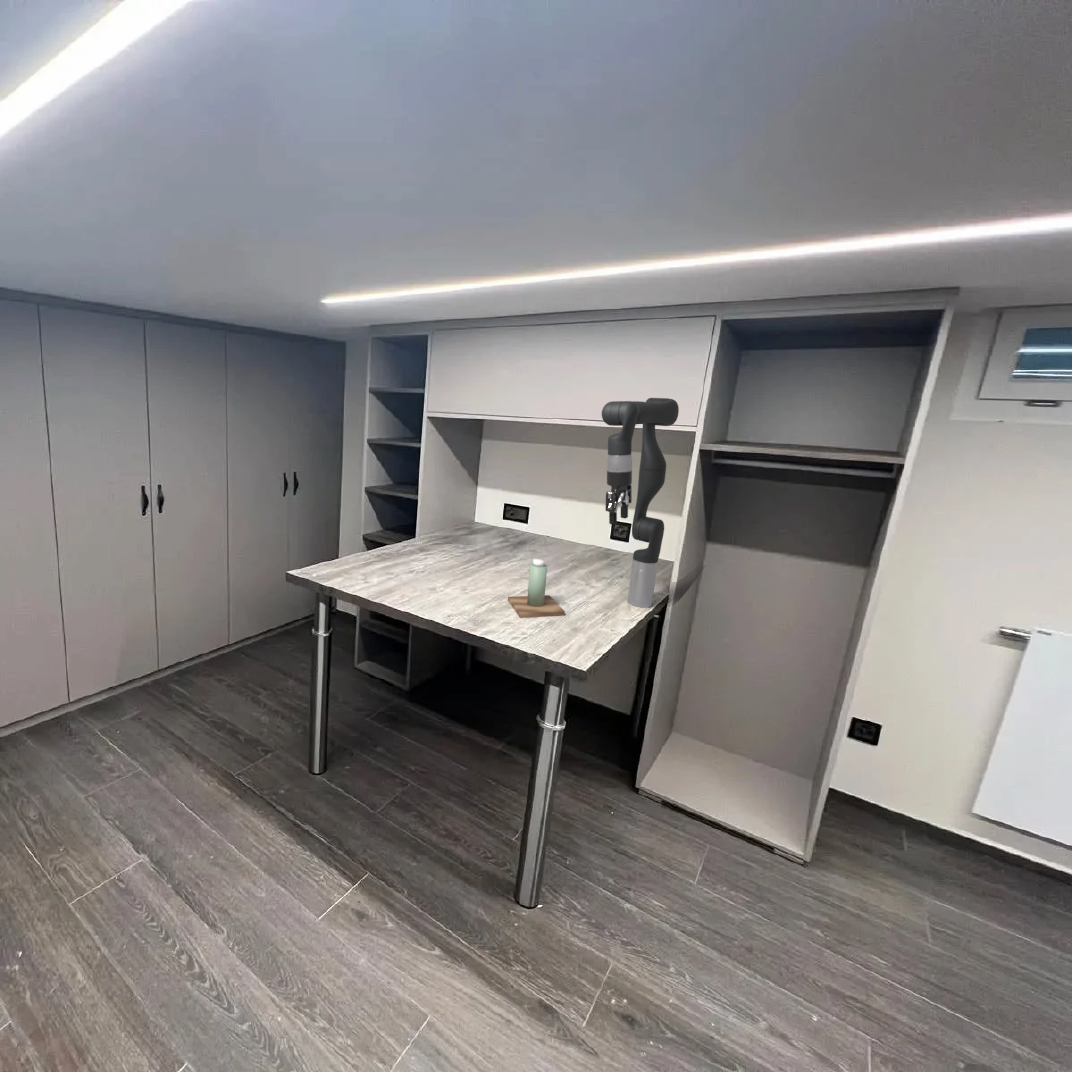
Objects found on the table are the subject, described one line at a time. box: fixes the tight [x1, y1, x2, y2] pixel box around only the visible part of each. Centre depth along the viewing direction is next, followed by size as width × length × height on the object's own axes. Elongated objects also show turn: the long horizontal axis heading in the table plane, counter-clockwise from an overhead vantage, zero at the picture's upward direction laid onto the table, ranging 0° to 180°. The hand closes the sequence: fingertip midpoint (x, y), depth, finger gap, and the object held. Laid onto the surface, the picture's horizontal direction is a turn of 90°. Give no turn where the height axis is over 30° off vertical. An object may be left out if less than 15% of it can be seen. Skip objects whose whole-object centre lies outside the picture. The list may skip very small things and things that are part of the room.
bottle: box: [527, 558, 548, 607], centre depth 175 cm, size 6×6×16 cm
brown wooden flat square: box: [507, 594, 566, 619], centre depth 177 cm, size 16×16×2 cm
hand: (618, 520), depth 157 cm, fingers open, 8 cm apart
